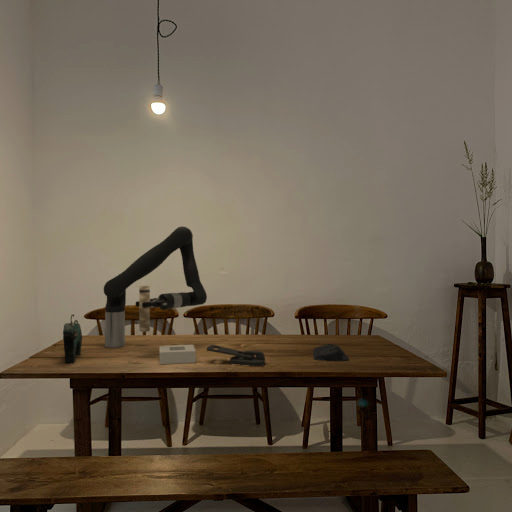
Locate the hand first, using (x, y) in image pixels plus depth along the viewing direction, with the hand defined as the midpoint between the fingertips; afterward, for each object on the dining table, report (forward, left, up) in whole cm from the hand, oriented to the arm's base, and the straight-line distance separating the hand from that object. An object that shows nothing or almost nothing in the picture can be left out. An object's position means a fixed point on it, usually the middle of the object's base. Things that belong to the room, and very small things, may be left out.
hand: (139, 304), depth 209 cm
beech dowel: (+2, +2, -12) cm, 12 cm away
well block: (+16, -7, -24) cm, 29 cm away
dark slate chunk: (+85, -11, -24) cm, 89 cm away
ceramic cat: (-29, +4, -24) cm, 38 cm away
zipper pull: (+41, -17, -24) cm, 50 cm away
